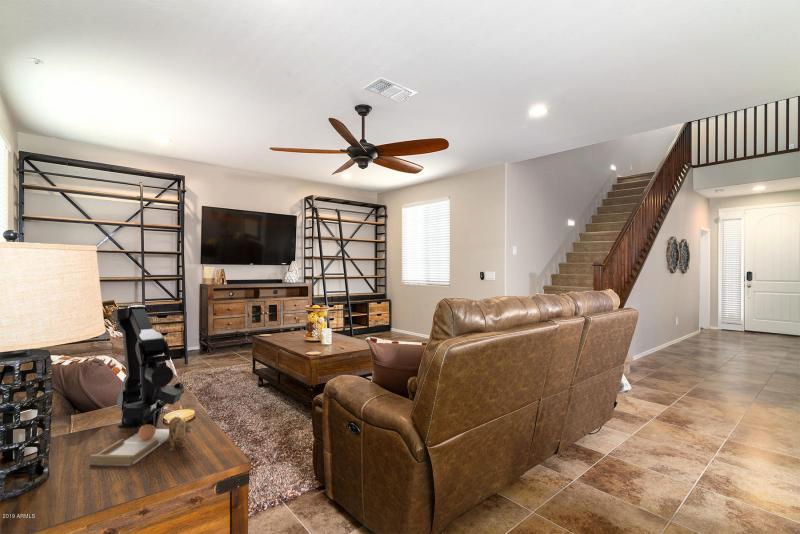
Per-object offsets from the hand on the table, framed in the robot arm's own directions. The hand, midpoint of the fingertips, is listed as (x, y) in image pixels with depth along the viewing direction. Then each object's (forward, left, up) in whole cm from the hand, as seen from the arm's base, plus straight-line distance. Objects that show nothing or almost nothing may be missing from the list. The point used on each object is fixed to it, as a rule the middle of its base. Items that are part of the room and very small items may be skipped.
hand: (153, 428), depth 123 cm
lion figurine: (+10, -4, -3) cm, 11 cm away
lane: (0, -6, -3) cm, 7 cm away
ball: (0, -2, 0) cm, 3 cm away
